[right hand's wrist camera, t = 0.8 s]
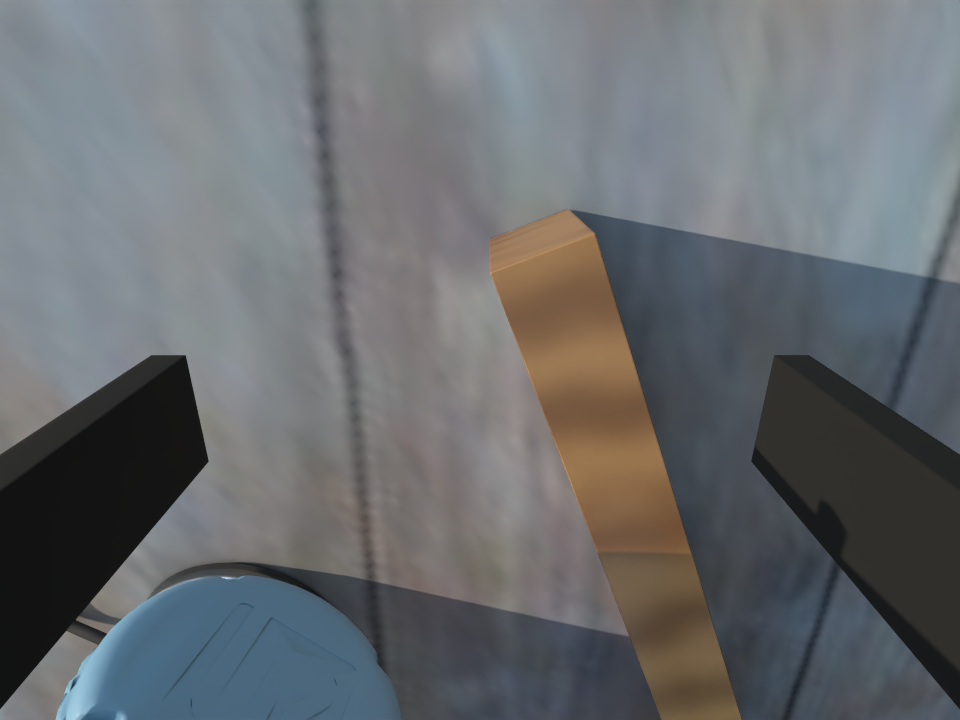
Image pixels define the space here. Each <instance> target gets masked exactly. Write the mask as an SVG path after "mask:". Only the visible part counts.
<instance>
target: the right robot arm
mask: <svg viewBox="0 0 960 720" xmlns="http://www.w3.org/2000/svg"><path fill="white" fill-rule="evenodd" d="M208 462H209V461H208V456H207V452H206V447H205V443H204V438H203V433H202V429H201V424H200V419H199V415H198V410H197V406H196V401H195V396H194V392H193V387H192V382H191V378H190V373H189V369H188V364H187V359H186V355H151V356H150V357H148V358H147V359H145V360H144V361H142V362H140V363H139V364H137V365H136V366H134V367H133V368H131V369H130V370H128V371H127V372H125V373H124V374H122V375H121V376H119V377H118V378H116V379H115V380H113V381H112V382H110V383H109V384H107V385H106V386H104V387H102V388H101V389H99V390H98V391H96V392H95V393H93V394H92V395H90V396H89V397H87V398H86V399H84V400H83V401H81V402H80V403H78V404H77V405H75V406H74V407H72V408H71V409H69V410H68V411H66V412H64V413H63V414H61V415H60V416H58V417H57V418H55V419H54V420H52V421H51V422H49V423H48V424H46V425H45V426H43V427H42V428H40V429H39V430H37V431H36V432H34V433H33V434H31V435H30V436H28V437H27V438H25V439H23V440H22V441H20V442H19V443H17V444H16V445H14V446H13V447H11V448H10V449H8V450H7V451H5V452H4V453H2V454H1V455H0V709H1V708H2V706H3V705H4V704H5V703H6V702H7V700H8V699H9V698H10V697H11V696H12V694H13V693H14V692H15V691H16V690H17V689H18V687H19V686H20V685H21V684H22V683H23V681H24V680H25V679H26V678H27V677H28V675H29V674H30V673H31V672H32V671H33V669H34V668H35V667H36V666H37V665H38V664H39V662H40V661H41V660H42V659H43V658H44V656H45V655H46V654H47V653H48V652H49V650H50V649H51V648H52V647H53V646H54V645H55V643H56V642H57V641H58V640H59V639H60V637H61V636H62V635H63V634H64V633H65V631H66V630H67V629H68V628H69V627H70V626H71V624H72V623H73V622H74V621H75V620H76V618H77V617H78V616H79V615H80V614H81V612H82V611H83V610H84V609H85V608H86V607H87V605H88V604H89V603H90V602H91V601H92V599H93V598H94V597H95V596H96V595H97V593H98V592H99V591H100V590H101V589H102V588H103V586H104V585H105V584H106V583H107V582H108V580H109V579H110V578H111V577H112V576H113V574H114V573H115V572H116V571H117V570H118V569H119V567H120V566H121V565H122V564H123V563H124V561H125V560H126V559H127V558H128V557H129V555H130V554H131V553H132V552H133V551H134V550H135V548H136V547H137V546H138V545H139V544H140V542H141V541H142V540H143V539H144V538H145V536H146V535H147V534H148V533H149V532H150V530H151V529H152V528H153V527H154V526H155V525H156V523H157V522H158V521H159V520H160V519H161V517H162V516H163V515H164V514H165V513H166V511H167V510H168V509H169V508H170V507H171V506H172V504H173V503H174V502H175V501H176V500H177V498H178V497H179V496H180V495H181V494H182V492H183V491H184V490H185V489H186V488H187V487H188V485H189V484H190V483H191V482H192V481H193V479H194V478H195V477H196V476H197V475H198V473H199V472H200V471H201V470H202V469H203V468H204V466H205V465H206V464H207V463H208ZM751 462H752V463H753V464H754V465H755V466H756V468H757V469H758V470H759V471H760V472H761V473H762V475H763V476H764V477H765V478H766V479H767V481H768V482H769V483H770V484H771V485H772V487H773V488H774V489H775V490H776V491H777V492H778V494H779V495H780V496H781V497H782V498H783V500H784V501H785V502H786V503H787V504H788V506H789V507H790V508H791V509H792V510H793V511H794V513H795V514H796V515H797V516H798V517H799V519H800V520H801V521H802V522H803V523H804V525H805V526H806V527H807V528H808V529H809V530H810V532H811V533H812V534H813V535H814V536H815V538H816V539H817V540H818V541H819V542H820V544H821V545H822V546H823V547H824V548H825V550H826V551H827V552H828V553H829V554H830V555H831V557H832V558H833V559H834V560H835V561H836V563H837V564H838V565H839V566H840V567H841V569H842V570H843V571H844V572H845V573H846V574H847V576H848V577H849V578H850V579H851V580H852V582H853V583H854V584H855V585H856V586H857V588H858V589H859V590H860V591H861V592H862V593H863V595H864V596H865V597H866V598H867V599H868V601H869V602H870V603H871V604H872V605H873V607H874V608H875V609H876V610H877V611H878V612H879V614H880V615H881V616H882V617H883V618H884V620H885V621H886V622H887V623H888V624H889V626H890V627H891V628H892V629H893V630H894V631H895V633H896V634H897V635H898V636H899V637H900V639H901V640H902V641H903V642H904V643H905V645H906V646H907V647H908V648H909V649H910V650H911V652H912V653H913V654H914V655H915V656H916V658H917V659H918V660H919V661H920V662H921V664H922V665H923V666H924V667H925V668H926V669H927V671H928V672H929V673H930V674H931V675H932V677H933V678H934V679H935V680H936V681H937V683H938V684H939V685H940V686H941V687H942V689H943V690H944V691H945V692H946V693H947V694H948V696H949V697H950V698H951V699H952V700H953V702H954V703H955V704H956V705H957V706H958V708H959V709H960V455H959V454H958V453H956V452H955V451H953V450H952V449H950V448H949V447H947V446H946V445H944V444H943V443H941V442H940V441H938V440H937V439H935V438H933V437H932V436H930V435H929V434H927V433H926V432H924V431H923V430H921V429H920V428H918V427H917V426H915V425H914V424H912V423H911V422H909V421H908V420H906V419H905V418H903V417H902V416H900V415H899V414H897V413H896V412H894V411H892V410H891V409H889V408H888V407H886V406H885V405H883V404H882V403H880V402H879V401H877V400H876V399H874V398H873V397H871V396H870V395H868V394H867V393H865V392H864V391H862V390H861V389H859V388H858V387H856V386H854V385H853V384H851V383H850V382H848V381H847V380H845V379H844V378H842V377H841V376H839V375H838V374H836V373H835V372H833V371H832V370H830V369H829V368H827V367H826V366H824V365H823V364H821V363H820V362H818V361H816V360H815V359H813V358H812V357H810V356H809V355H774V359H773V364H772V369H771V373H770V378H769V382H768V387H767V392H766V396H765V401H764V406H763V410H762V415H761V419H760V424H759V429H758V433H757V438H756V443H755V447H754V452H753V456H752V461H751Z"/></svg>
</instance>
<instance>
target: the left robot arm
mask: <svg viewBox="0 0 960 720" xmlns="http://www.w3.org/2000/svg"><path fill="white" fill-rule="evenodd" d="M66 631H68V632H70V633H73V634H75V635H77V636H79V637H82V638H84V639H86V640H89V641H91V642H93V643H95V644H98V646H97V647H96V648H95V649H94V650H93V651H92V652H91V653H90V654H89V656H88V657H87V658H86V659H85V660H84V661H83V662H82V664H81V666H80V669H79V671H78V674H77V675H76V676H75V677H74V678H73V679H72V680H71V681H70V682H69V683H68V685H67V688H66V690H65V693H64V696H63V699H62V701H61V704H60V707H59V710H58V713H57V718H56V720H402V719H401V712H400V707H399V703H398V700H397V696H396V693H395V690H394V686H393V684H392V682H391V679H390V677H389V676H388V675H387V674H386V673H385V672H384V671H383V670H382V669H381V667H380V666H379V665H378V664H377V653H376V651H375V649H374V648H373V647H372V645H371V643H370V642H369V641H368V639H367V638H366V637H365V635H364V634H363V633H362V632H361V631H360V630H359V629H358V628H357V627H356V626H355V625H354V624H353V623H352V622H351V621H350V620H349V619H348V618H347V617H346V616H345V615H344V614H343V613H341V612H340V611H339V610H337V609H336V608H335V607H333V606H332V605H331V604H329V603H328V602H326V601H324V600H323V599H321V598H320V597H319V596H318V595H316V594H315V593H314V592H313V591H311V590H310V589H309V588H307V587H306V586H304V585H302V584H301V583H299V582H297V581H296V580H294V579H292V578H290V577H288V576H285V575H283V574H280V573H278V572H275V571H272V570H269V569H265V568H261V567H257V566H252V565H246V564H237V563H215V564H207V565H201V566H196V567H192V568H189V569H186V570H184V571H181V572H179V573H177V574H175V575H173V576H171V577H169V578H168V579H166V580H165V581H164V582H162V583H161V584H160V585H159V586H158V587H157V588H156V589H155V590H154V591H153V592H152V594H151V595H150V596H149V597H148V599H147V600H146V601H145V602H143V603H141V604H140V605H139V606H137V607H136V608H135V609H134V610H132V611H131V612H130V613H128V614H127V615H126V616H125V617H124V618H123V619H122V620H120V621H119V622H118V623H117V624H116V625H115V626H114V627H113V628H112V629H111V630H110V631H109V633H108V634H106V633H104V632H102V631H99V630H97V629H95V628H92V627H90V626H88V625H85V624H83V623H81V622H79V621H76V620H75V621H74V622H73V623H72V624H71V626H70V627H69V628H68V629H67V630H66Z"/></svg>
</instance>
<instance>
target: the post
mask: <svg viewBox="0 0 960 720" xmlns="http://www.w3.org/2000/svg"><path fill="white" fill-rule="evenodd" d="M490 274H491V276H492V279H493V282H494V284H495V287H496V289H497V292H498V295H499V297H500V300H501V303H502V305H503V308H504V310H505V313H506V316H507V318H508V321H509V323H510V326H511V329H512V331H513V334H514V336H515V339H516V342H517V344H518V347H519V349H520V352H521V355H522V357H523V360H524V363H525V365H526V368H527V370H528V373H529V376H530V378H531V381H532V383H533V386H534V389H535V391H536V394H537V396H538V399H539V402H540V404H541V407H542V409H543V412H544V415H545V417H546V420H547V423H548V425H549V428H550V430H551V433H552V436H553V438H554V441H555V443H556V446H557V449H558V451H559V454H560V456H561V459H562V462H563V464H564V467H565V470H566V472H567V475H568V477H569V480H570V483H571V485H572V488H573V490H574V493H575V496H576V498H577V501H578V503H579V506H580V509H581V511H582V514H583V516H584V519H585V522H586V524H587V527H588V530H589V532H590V535H591V537H592V540H593V543H594V545H595V548H596V550H597V553H598V556H599V558H600V561H601V563H602V566H603V569H604V571H605V574H606V576H607V579H608V582H609V584H610V587H611V590H612V592H613V595H614V597H615V600H616V603H617V605H618V608H619V610H620V613H621V616H622V618H623V621H624V623H625V626H626V629H627V631H628V634H629V636H630V639H631V642H632V644H633V647H634V650H635V652H636V655H637V657H638V660H639V663H640V665H641V668H642V670H643V673H644V676H645V678H646V681H647V683H648V686H649V689H650V691H651V694H652V697H653V699H654V702H655V704H656V707H657V710H658V712H659V715H660V717H661V720H742V719H741V715H740V712H739V709H738V705H737V702H736V699H735V695H734V692H733V689H732V685H731V682H730V679H729V676H728V672H727V669H726V666H725V662H724V659H723V656H722V652H721V649H720V646H719V642H718V639H717V636H716V632H715V629H714V626H713V622H712V619H711V616H710V612H709V609H708V606H707V602H706V599H705V596H704V592H703V589H702V586H701V583H700V579H699V576H698V573H697V569H696V566H695V563H694V559H693V556H692V553H691V549H690V546H689V543H688V539H687V536H686V533H685V529H684V526H683V523H682V519H681V516H680V513H679V509H678V506H677V503H676V499H675V496H674V493H673V490H672V486H671V483H670V480H669V476H668V473H667V470H666V466H665V463H664V460H663V456H662V453H661V450H660V446H659V443H658V440H657V436H656V433H655V430H654V426H653V423H652V420H651V416H650V413H649V410H648V406H647V403H646V400H645V397H644V393H643V390H642V387H641V383H640V380H639V377H638V373H637V370H636V367H635V363H634V360H633V357H632V353H631V350H630V347H629V343H628V340H627V337H626V333H625V330H624V327H623V323H622V320H621V317H620V313H619V310H618V307H617V304H616V300H615V297H614V294H613V290H612V287H611V284H610V280H609V277H608V274H607V270H606V267H605V264H604V260H603V257H602V254H601V250H600V247H599V244H598V240H597V237H596V234H595V233H594V232H593V231H592V230H591V229H590V228H588V227H587V226H586V225H585V224H584V223H583V222H582V221H581V220H580V219H579V218H578V217H577V216H576V215H574V214H573V213H572V212H571V211H570V210H569V209H567V210H565V211H562V212H560V213H557V214H554V215H552V216H549V217H547V218H544V219H541V220H539V221H536V222H534V223H531V224H528V225H526V226H523V227H521V228H518V229H515V230H513V231H510V232H508V233H505V234H502V235H500V236H497V237H495V238H492V239H490Z"/></svg>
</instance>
